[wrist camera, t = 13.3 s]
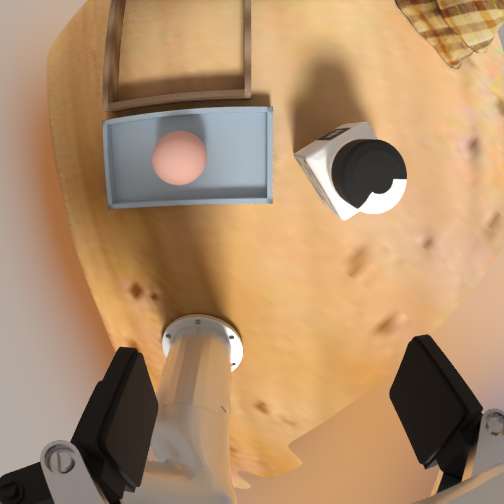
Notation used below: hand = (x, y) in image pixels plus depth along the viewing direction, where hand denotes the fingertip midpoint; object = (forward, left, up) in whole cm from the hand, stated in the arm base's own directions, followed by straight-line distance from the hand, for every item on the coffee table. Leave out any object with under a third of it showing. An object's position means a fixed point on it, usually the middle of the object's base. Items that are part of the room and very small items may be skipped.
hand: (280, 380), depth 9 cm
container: (+5, -10, -28) cm, 31 cm away
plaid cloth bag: (+30, -28, -28) cm, 50 cm away
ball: (+6, +8, -28) cm, 29 cm away
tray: (+6, +8, -28) cm, 30 cm away
